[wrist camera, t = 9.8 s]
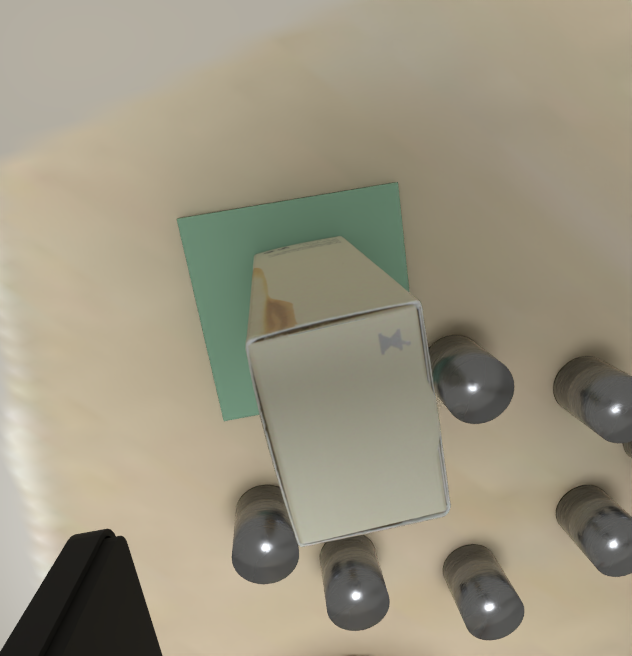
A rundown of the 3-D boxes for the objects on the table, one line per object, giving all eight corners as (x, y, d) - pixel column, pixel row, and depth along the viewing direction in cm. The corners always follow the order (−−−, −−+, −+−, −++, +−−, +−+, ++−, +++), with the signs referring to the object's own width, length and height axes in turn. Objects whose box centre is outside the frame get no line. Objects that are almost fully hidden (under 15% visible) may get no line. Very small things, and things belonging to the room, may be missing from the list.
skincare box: (250, 253, 23) (233, 326, 11) (343, 232, 23) (423, 284, 11) (281, 380, 25) (294, 559, 13) (367, 361, 25) (456, 520, 13)
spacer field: (684, 293, 26) (746, 309, 23) (670, 548, 31) (719, 592, 27) (204, 380, 25) (194, 410, 22) (264, 631, 30) (263, 688, 26)
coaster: (394, 182, 23) (397, 182, 23) (415, 380, 26) (419, 384, 25) (179, 218, 23) (176, 219, 22) (224, 415, 26) (223, 421, 25)
